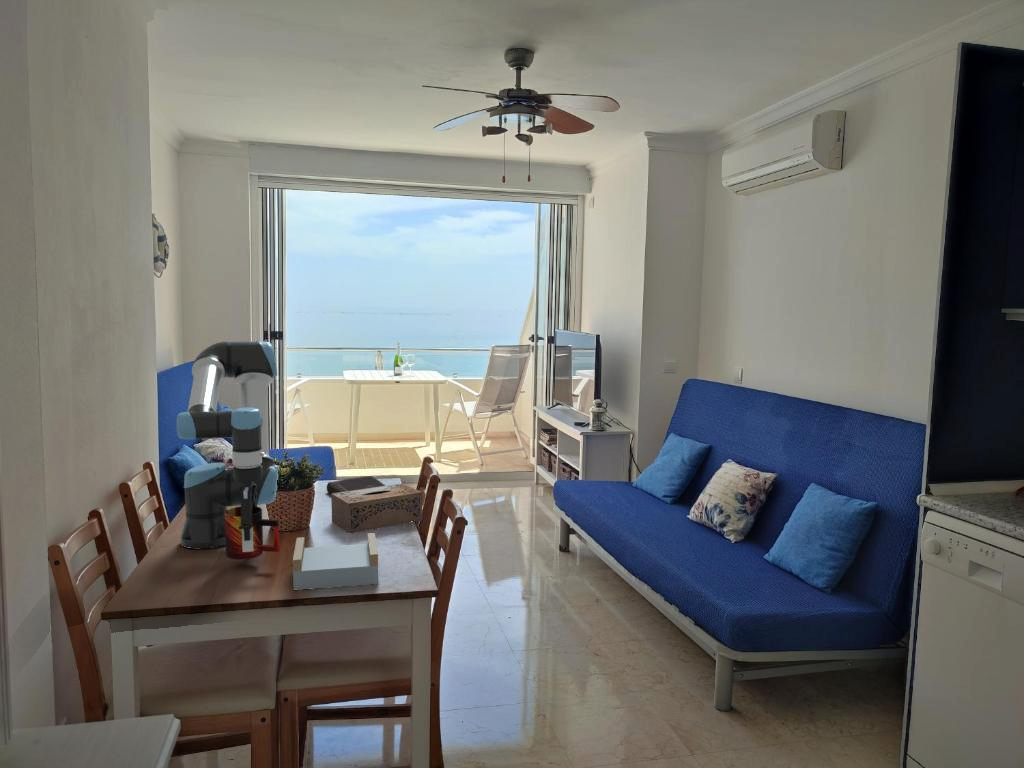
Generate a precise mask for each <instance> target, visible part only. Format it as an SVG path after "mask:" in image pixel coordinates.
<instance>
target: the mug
mask: <svg viewBox="0 0 1024 768" xmlns="http://www.w3.org/2000/svg"><path fill="white" fill-rule="evenodd" d="M244 524H248V523H244ZM239 526H241V506H234V507H232V508H227V510H226V511H225V539H226V545H225V556H226V558H227V559H230V560H237V561H238V560H239V561H242V560H243V561H244V560H250V559H255V558H258V557H260V556H262V555H263V554H264V552H272V553H279V552H280V531H279V519H265V518H263V509H262V507H260V506H257V507H256V506H253V507H252V527H253V547H254V551H251V552H243V548H242V529H239ZM263 527H273V544H264V531H263V529H264V528H263Z"/></svg>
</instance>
